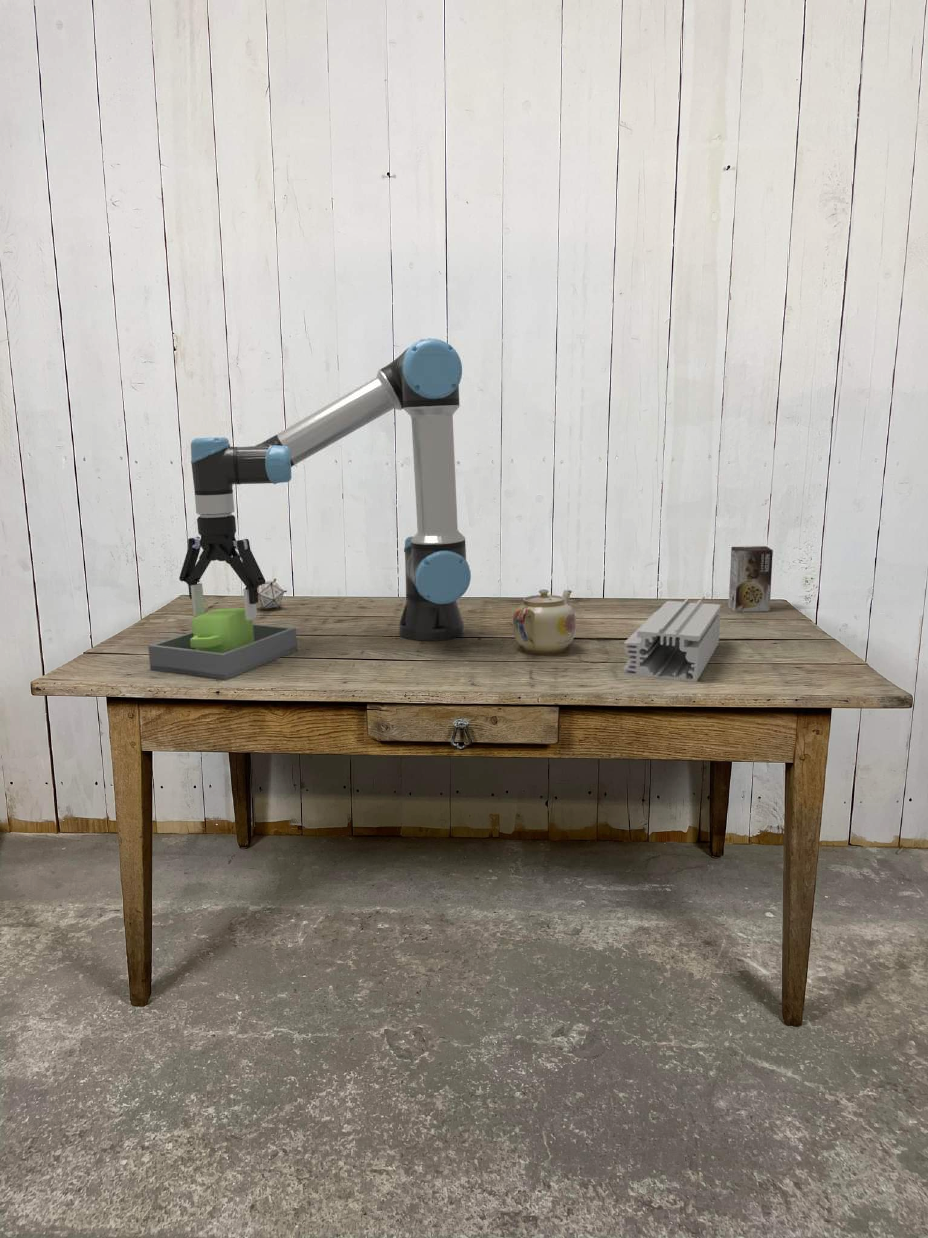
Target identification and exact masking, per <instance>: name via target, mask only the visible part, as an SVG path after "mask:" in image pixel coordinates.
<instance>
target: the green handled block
mask: <svg viewBox="0 0 928 1238" xmlns="http://www.w3.org/2000/svg"><path fill="white" fill-rule="evenodd" d="M253 622H254V621H253V619H252V620H249V621H247V620H246V615H245V607H236V608H235V607H234V608H233V607H232V608H218V609H217V608H216V609H212V610H209V611H207V612H206V611H205V613H204V614H201V615H198V616H194V617H193V618H191V624H192V631H193V635H194V637H193V638H191V639H190V645H191V648H195V650H200V651H208V652H216V653H225V652H228V651H231V650H233V649H236V648H239V647H241V646H244V645H247V644H249V643H252V642H254V631H253V624H254V623H253Z"/></svg>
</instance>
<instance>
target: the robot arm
mask: <svg viewBox="0 0 928 1238" xmlns="http://www.w3.org/2000/svg"><path fill="white" fill-rule="evenodd" d="M377 371H378V372H377V374H376V376H375V377H374V378H373V379H371V380H369V381H368V382H366V383H364V384H362V385H360V386H359V387H357V388H355V389H353V390H351V391H350V392H348V393H347V394H344V395H343V396H341V397H339V398H337V399H336V400H334V401H332V402H330V403H329V404H327V405H326V406H323V407H322V408H320V409H318V410H317V411H315V412H313V413H311V414H310V415H308V416H306V417H304V418H303V419H301V420H299V421H297V422H295V423H294V424H292V425H291V426H289V427H287V428H284V430H281V431H280V432H278V433H277V434H275V435H273V436H271V437H270V438H268V439H266V440H264V441H262V442H260V443H258V444H255V445H253V446H250V445H249V446H231V444H230V441H229V438H228V437H225V436H224V437H223V436H219V437H218V436H217V437H196V438H193V440H191V442H190V456H191V458H190V459H191V461H190V463H191V472H192V479H193V481H192V482H193V489H194V501H195V513H196V514H197V515H199V516H198V517H197V519H196V524H197V532H198V535H199V536H200V537H199V536H194V537H190V538H188V539H187V551H186V554H185V558H184V560H183V561H184V562H183V564H182V567H181V571H180V574H179V581H181V582H184V583H186V584H187V586H188V593H189V594H188V596H189V600H191V603H192V614H193V616H194V617H197V616H199V615H202V614H204V613H206V611H205V610H206V609H205V602H204V601H205V600H204V589H203V583H202V582H201V578H202V577H203V575H204V573H205V571H206V570H207V568H208V567H209V565H210V563H211V562H213V561H219V562H225V563H226V564H228V565H229V567H231V568H232V570H233V571H234V572H235V574H236V575H237V576H238V578H239V579H240V581H241V582H242V583H243V585H244V586H245V588H243V590H242V591H243V600H244V601H243V602H244V608H245V615H246V620H247V621H249V620H252V621H253V620H254V619H257V618H258V615H257V614H258V611H257V604H259V603H258V590H257V588H258V586H260V585H263V584H265V582H267V581H266V579H265V577H264V574H263V572H262V571H261V568H260V566H259V564H258V562H257V560H256V558H255V556H254V554H253V552H252V550H251V545H250V540H249V539H248V538H244V539H238V540H237V539H236V532H237V524H236V523H237V522H236V516H235V515H234V514H233V513H234V512H235V503H234V502H235V501H234V490H233V485H255V484H257V485H258V484H259V485H260V484H262V485H263V484H273V485H276V484H283V483H289V482H290V481H291V480H292V467H294V466H295V465H297V464H299V463H301V462H302V461H304V460H306V459H308V458H310V457H311V456H313V455H315V454H317V453H319V452H320V451H322V450H323V449H325V448H327V447H329V446H331V445H332V444H334V443H336V442H337V441H340V440H342V439H343V438H345V437H347V436H348V435H350V434H352V433H353V432H355V431H357V430H359V429H361V428H362V427H364V426H366V425H368V424H370V423H371V422H373V421H375V420H377V419H378V418H380V417H382V416H384V415H385V414H386V413H389V412H391V411H392V410H398V411H402V410H404V411H405V412H406V413H407V414H408V415H409V416H410V418H411V434H412V435H411V437H412V438H411V439H412V454H413V473H414V485H415V486H414V488H415V489H414V490H415V492H414V493H415V506H416V509H415V510H416V527H417V529H416V530H417V531H416V534H414V536H408V537H406V539H405V540H404V548H403V552H404V564H405V566H404V567H405V569H404V570H405V604H404V608H403V611H402V615H401V618H400V621H399V626H398V628H399V635H400V636H401V637H403V638H405V639H409V640H415V641H441V640H443V641H444V640H450V639H454V638H459V637H460V636H462V635H464V633H465V623H464V620H463V616H462V614H461V611H460V608H459V605H458V602H457V600H459V599H461V598H462V597H463V596H464V594H466V592H467V591H468V589H469V586H470V584H471V577H472V576H471V569H470V565H469V563H468V561H467V554H466V553H467V549H466V546H467V545H466V537H465V536H464V535H463V534H462V533H461V532H460V531H459V530H458V529H459V528H458V527H459V526H458V507H457V505H458V504H457V502H458V501H457V484H456V480H457V479H456V463H455V462H456V461H455V459H456V458H455V440H454V439H455V437H454V414H455V413H456V412H457V410H458V409H459V408H460V406H461V405H460V388H459V387H460V386H459V385H460V383H461V379H462V375H463V364H462V360H461V358H460V356H459V353H458V352H457V351H456V349H455V348H454V347H453V346H452V345H451V344H449V343H448V342H446V341H445V340H442V339H438V338H425V339H423V338H422V339H419V340H417V341H416V342H413V343H412V344H411V345H410V346H409V347H407V348H406V349H405V350H404V351H403V352H402V353H401V354H400V355H399V356H397V357H396V358H395V359H394V360H393V361H391V362H390V363H388V364H387V365H385V366H384V367H382V368H380V369H379V370H377ZM201 549H202V552H201ZM200 552H201V553H200Z"/></svg>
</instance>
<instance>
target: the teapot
mask: <svg viewBox="0 0 928 1238" xmlns="http://www.w3.org/2000/svg"><path fill="white" fill-rule="evenodd" d="M572 592H573V590H570V589H564V590H563V593H562V596H561V595H556V594H554V595H553V594H549V590H548V589H540V590H539V591H538V593H539V594H535V595H529V596H526V597H523V600H522V601H523V602H522V603H521V604H519V605H518V606H517V607H516V609H515V611H514V613H513V617H512V630H513V631H512V632H513V635H514V639H515V641H516V642H517V643H518V644H519V645H520V646H522V649H523V651H524V652H526V653H528V654H533V655H541V656H542V655H543V656H545V655H549V656H550V655H557V654H562V653H564V652H566V650H567V647H568V646H569V645H570V644H571V643H572V642H573V640H574V638H575V634H576V630H577V629H576V627H577V626H576V623H577V621H576V616H575V611H574V610H573V607H572V606H570V605H569V603H570V602H569V601H570V596H571V594H572Z"/></svg>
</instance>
